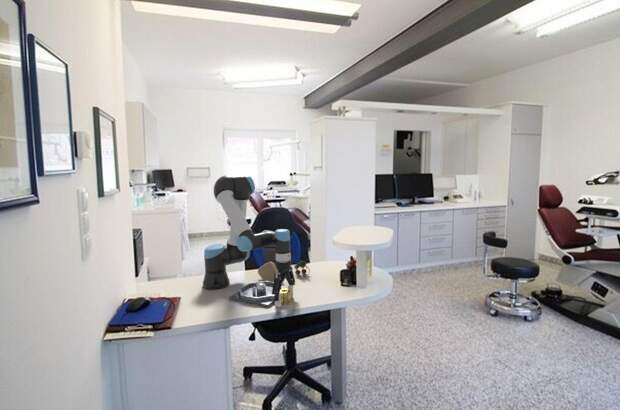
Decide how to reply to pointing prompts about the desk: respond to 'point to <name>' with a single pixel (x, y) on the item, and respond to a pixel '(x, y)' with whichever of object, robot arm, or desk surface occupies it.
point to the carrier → (256, 294)
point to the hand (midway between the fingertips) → (284, 301)
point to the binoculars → (302, 265)
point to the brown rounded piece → (268, 271)
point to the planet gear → (285, 296)
